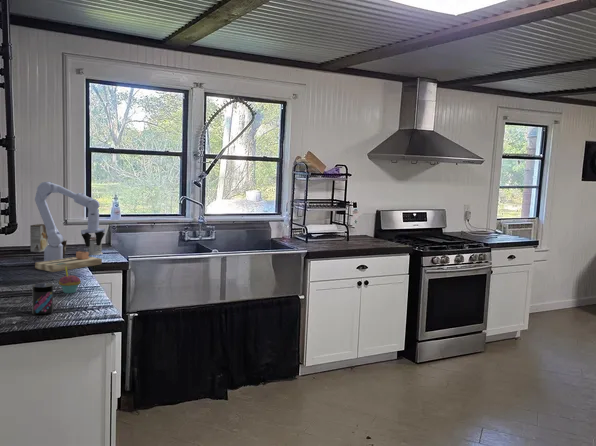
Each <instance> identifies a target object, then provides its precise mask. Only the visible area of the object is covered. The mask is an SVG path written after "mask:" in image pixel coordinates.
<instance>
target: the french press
mask: <svg viewBox="0 0 596 446" xmlns="http://www.w3.org/2000/svg"><path fill="white" fill-rule="evenodd" d="M95 232H97V231H95ZM102 240H103V239H102ZM102 240H101V244H100V245H97V244H96V236H91V238H90V246H89V247H87V252H89V256H100V254H101V255H103V254H104V253H103V252H102V248H103V247H102V245H103V244H102ZM83 242H84V243H85V241H84V240H83Z"/></svg>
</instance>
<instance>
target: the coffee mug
mask: <svg viewBox="0 0 596 446" xmlns="http://www.w3.org/2000/svg"><path fill="white" fill-rule="evenodd" d="M67 242H68V241H67V239H63V242H62V243H61V244H62V245H63V259H65V256H66V249H67Z"/></svg>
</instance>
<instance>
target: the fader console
mask: <svg viewBox="0 0 596 446" xmlns="http://www.w3.org/2000/svg"><path fill="white" fill-rule="evenodd" d="M102 260H103V258H99V257H95V256H94V257H93V256H89V258H88V259H78V258H76V256H73V257H67V258H65V257H64V258H63V259H58V260H50V261H44V260H42V261H38V262H35V264H34V269H37V270H41V271H46V272H51V273H55V272H62V271H63V272H64V271H66V270H65V265H66V266H67V271H69V270H75V269H80V268H87V267H92V266H98V265H102V264H103V263H102V262H103V261H102Z"/></svg>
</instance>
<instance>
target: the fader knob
mask: <svg viewBox="0 0 596 446" xmlns="http://www.w3.org/2000/svg"><path fill="white" fill-rule="evenodd" d="M75 257H76V258H78V259H88V258H89V257H90V255H89V252H88V251H85V250H84V251H83V250H78V251H75Z"/></svg>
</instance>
